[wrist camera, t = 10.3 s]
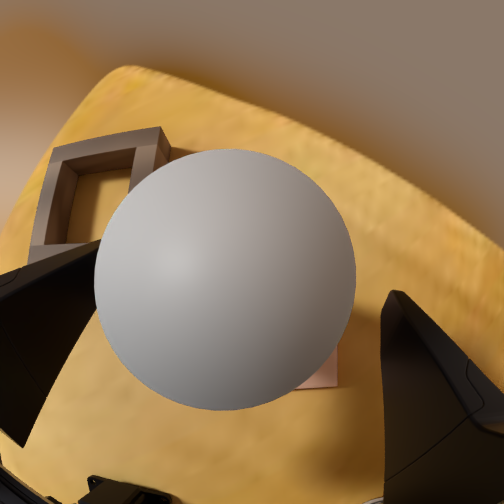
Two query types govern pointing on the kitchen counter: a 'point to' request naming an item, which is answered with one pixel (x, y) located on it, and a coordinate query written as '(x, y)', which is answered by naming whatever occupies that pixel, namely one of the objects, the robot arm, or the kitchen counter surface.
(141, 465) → the kitchen counter surface
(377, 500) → the supplement bottle
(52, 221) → the walnut collar
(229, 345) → the grey cylinder
